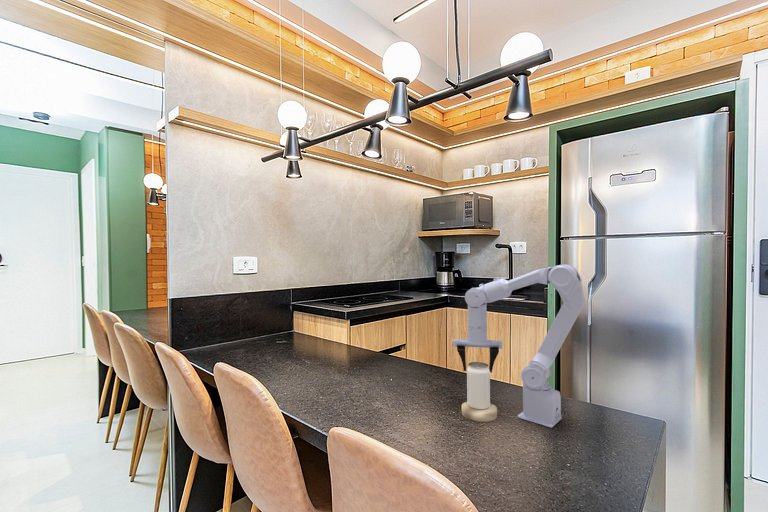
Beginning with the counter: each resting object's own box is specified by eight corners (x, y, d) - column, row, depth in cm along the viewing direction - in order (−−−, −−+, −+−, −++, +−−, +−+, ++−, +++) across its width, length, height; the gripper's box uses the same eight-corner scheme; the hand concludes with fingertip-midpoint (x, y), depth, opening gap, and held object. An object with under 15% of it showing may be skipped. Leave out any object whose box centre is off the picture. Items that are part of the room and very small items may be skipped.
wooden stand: (503, 413, 105) (503, 406, 105) (486, 425, 98) (486, 418, 98) (472, 404, 112) (472, 397, 112) (454, 414, 105) (454, 407, 105)
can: (464, 407, 105) (464, 366, 105) (470, 399, 111) (470, 360, 111) (487, 412, 102) (486, 369, 102) (492, 403, 108) (492, 363, 108)
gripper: (500, 324, 115) (500, 368, 115) (453, 323, 118) (453, 365, 118) (503, 329, 108) (503, 375, 108) (453, 327, 111) (453, 372, 111)
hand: (477, 370), depth 112 cm, fingers open, 7 cm apart
